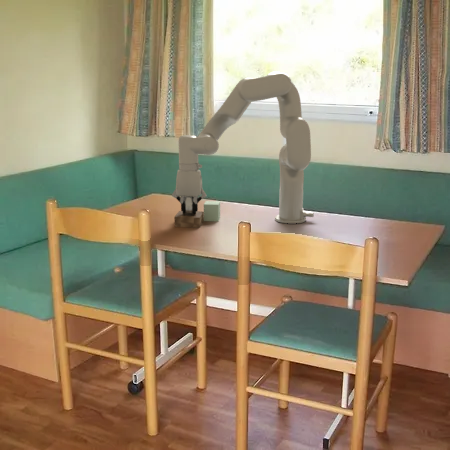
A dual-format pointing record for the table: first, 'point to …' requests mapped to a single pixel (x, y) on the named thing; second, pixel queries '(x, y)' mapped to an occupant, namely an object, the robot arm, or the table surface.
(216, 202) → the green block
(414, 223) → the table surface
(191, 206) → the metal peg
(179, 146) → the robot arm
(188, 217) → the socket block
